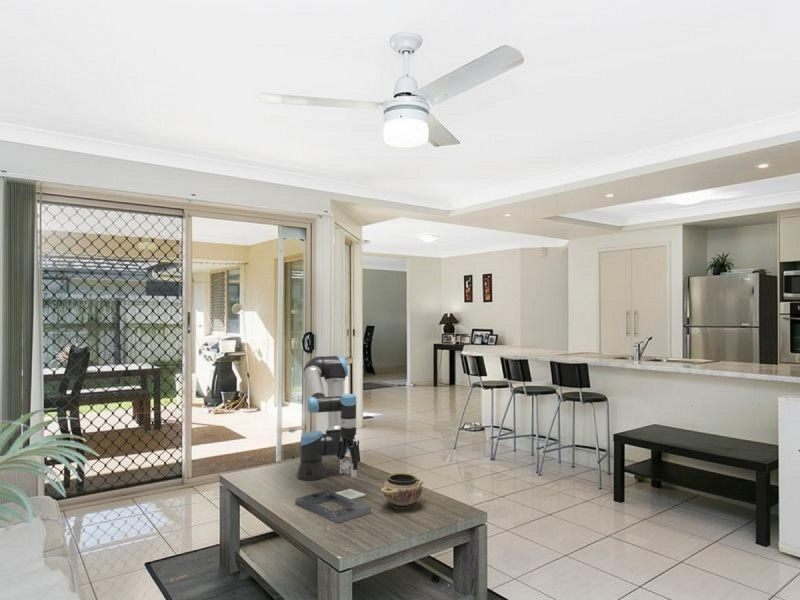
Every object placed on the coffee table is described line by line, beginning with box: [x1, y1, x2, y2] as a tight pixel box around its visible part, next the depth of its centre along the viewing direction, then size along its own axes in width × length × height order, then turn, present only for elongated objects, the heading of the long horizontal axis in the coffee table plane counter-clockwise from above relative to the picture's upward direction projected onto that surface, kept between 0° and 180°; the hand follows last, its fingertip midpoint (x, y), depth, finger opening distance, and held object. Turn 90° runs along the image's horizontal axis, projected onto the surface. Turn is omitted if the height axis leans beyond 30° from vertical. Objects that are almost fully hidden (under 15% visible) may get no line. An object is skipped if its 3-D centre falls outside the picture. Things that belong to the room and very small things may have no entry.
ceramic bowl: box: [380, 472, 424, 510], centre depth 246 cm, size 24×18×15 cm
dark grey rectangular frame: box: [294, 489, 372, 524], centre depth 242 cm, size 32×18×3 cm, turn 44°
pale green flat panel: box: [335, 488, 366, 500], centre depth 259 cm, size 12×12×1 cm
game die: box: [338, 457, 359, 477], centre depth 260 cm, size 9×8×10 cm
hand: (348, 474), depth 260 cm, fingers closed on game die, 8 cm apart
